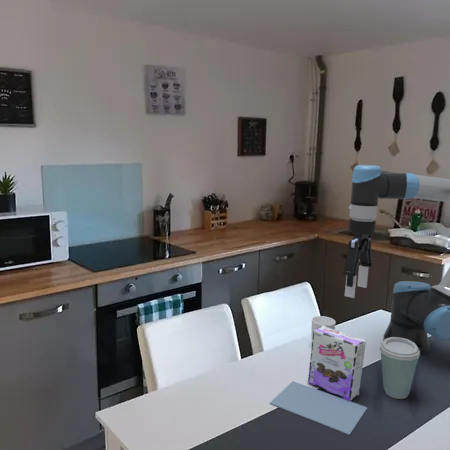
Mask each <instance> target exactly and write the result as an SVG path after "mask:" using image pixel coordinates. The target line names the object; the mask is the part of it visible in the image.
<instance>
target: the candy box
mask: <svg viewBox="0 0 450 450" xmlns="http://www.w3.org/2000/svg"><path fill="white" fill-rule="evenodd" d="M366 343H367V340H366V339H362V338H359V337H356V336H354V335H350V334H349V333H348V334H347V333H345V332H343V331H342V332H341V331H339V330H337V329H335V330H334V329H331V328H328V327H326V326H321V327H319V328H317V329H315V330H314V331H313V340H312V339H311V350H310V360H309V368H308V377H307V383H309V384H310V385H312V386H314V387H318V388H319V389H322V390H324V391H325V392H328V393H329V394H330V393H331V394H332V395H334V396H336V397H339V398H342V399H345V400H348V401H351V402H352V400H354V399H355V398H357V397H358V396H359V395H360V389H361V381H362V380H361V379H362V373H363V367H364V366H363V365H364V358H365V352H366Z"/></svg>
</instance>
